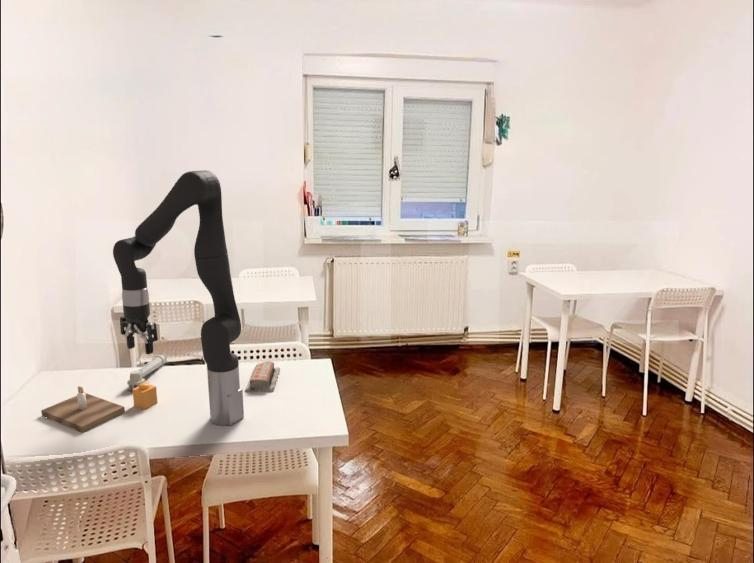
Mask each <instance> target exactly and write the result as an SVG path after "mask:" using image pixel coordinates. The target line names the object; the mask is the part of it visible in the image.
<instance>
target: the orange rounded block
mask: <svg viewBox="0 0 754 563" xmlns="http://www.w3.org/2000/svg"><path fill="white" fill-rule="evenodd" d="M157 392H158V391H157V386H155V385H153V384H150V383H149V382H148V381H145V382H143V383H140V384H139V385H138V387H136V388H134V389H132V400H133V406H134V407H137V408H139V409H144V410H146V409H148V408H150V407H152V406H154V405H156V404H158V393H157Z"/></svg>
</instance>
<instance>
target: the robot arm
mask: <svg viewBox="0 0 754 563" xmlns="http://www.w3.org/2000/svg"><path fill="white" fill-rule="evenodd" d="M222 197H223V196H222V186H221V183H220V180H219V178H218V177H217V175H216V174H215V173H214V172H212V171H210V170H192V171H186V172H184V173H183V174H182V175H180V177H179V178H178V179H177V180H176V181H175V183H174V185H173V186H172V188H171V189H170V190H169V191H168V193H167V194H166V195H165V197H164V199H163V200H162V201H161V203H160V204H159V205H158V206H157V207H156V208H155V209H154V210H153V211H152V212H151V213H150V214H149V216H147V217H146V218H145V219H144V220H143V221H142V222H141V223H140V224H139V225H138V226H137V227H136V229H135V232H134V236H133V237H132V236H131V237H128V238H123V239H119V240H118V241H116V242H115V243H114V246H113V248H112V255H113V256H112V257H113V259H114V260H113V261H114V262H115V265H116V266H117V270H118V272H119V274H120V279H121V281H120V282H121V290H122V292H121V297H122V298H121V301H122V311H123V316H121V317H119V327H120V334H121V335H123V336H124V337H125V339H126V346H127V349H128V350H132V349H134V348H135V347H136V344H135V336H134V335H135V334H137V335H138V336H139V337H140V338H141V339H143V342H144V349H145V354H146V355H150V354H153V353H154V342H157V341H158V338H159V337H158V330H157V323H156V322H155V321H154V322H149V319H148V318H149V317H150V315H151V307H150V306H151V305H150V294H149V291H148V290H149V289H148V282H147V279H148V278H147V272H146V270H145V269H144V268H140V267H137V265H136V261H140V260H143V259H144V258H146V257H148V256H149V255H150V254H151V253H152V251H153V250H154V249H155V247H156V244H158V243H159V242H160V241H161V240H162V239H163V238H165V236H166V235H168V233H169V232H170V231H171V230H172V229H173V227H174V225H175V223H176V220H177V219H178V217H179V216H180V215H181V214H183V213H184V212H185V211H187V210H189V209H190V208H191V207H193V206H195V205H197V207H198V216H199V226H198V231H197V235H196V239H195V242H194V247H193V248H194V249H193V250H194V251H193V252H194V253H193V254H194V261H195V262H194V263H195V267H196V272H197V275H198V277H199V279H200V281H201V283H202V284H203V286H204V287H205V288H206V289H207V291H208V292H209V294H210V296H211V299H212V305H213V310H214V316H213V317H210V318H208V319H207V320H206V321H205V322H203V324H202V326H201V329H200V339H201V340H200V341H201V348H202V350H201V351H202V357H203V360H204V362H205V363H206V373H207V387H208V402H209V412H210V413H209V414H210V415H209V416H210V422H211V423H212V424H214V425H218V426H232V425H233V424H235V423H237V422H239V421H241V420H242V419H243V418H244V417H245V413H244V394H243V393H244V392H243V389H242V388H240V386H241V385H240V384H241V383H240V368H239V367H240V366H239V365H240V363H239V357H238V355H237V354H235V353H233V352H231V346H230V345H231V343H233V342H234V341H236V340H237V339H238V338H239V337H240V335H241V332H242V322H241V321H242V320H241V318H240V314H239V311H238V306H237V302H236V298H235V294H234V287H233V280H232V275H231V268H230V260H229V259H230V258H229V254H228V248H227V242H226V236H225V235H226V234H225V228H224V221H223V220H224V219H223V202H222V200H223V198H222Z"/></svg>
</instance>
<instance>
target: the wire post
mask: <svg viewBox="0 0 754 563" xmlns="http://www.w3.org/2000/svg"><path fill="white" fill-rule="evenodd" d="M77 392H78V393H77V394H76V396H77V398H78V405H79V410H85V409H87V403H86V396H85V393H86V392H84V387H83V386H80V385H78V386H77Z"/></svg>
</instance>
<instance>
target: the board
mask: <svg viewBox="0 0 754 563" xmlns="http://www.w3.org/2000/svg"><path fill="white" fill-rule="evenodd" d="M85 396H86V403H87V409H85V410H79V405H78V398H77V395H75V396H72V397H70V398H67V399H65V400H63V401H60V402H58V403H55V404H53V405H51V406H49V407H46V408H44V409H41V417H43V416H44V417H43V418H45V417H47V418H46V419H48V420H50V421H53V422H55V423H57V422H58V424H60V425H63V426H65V427H67V428H70V429H72V430H75V431H77V432H79V433H85V432H89V430H92V429H94V428H95V427H98V426H100V425H102V424H104V423H106V422H108V421H110V420H112V419H115V418H118V417H119V416H121V415H123V414H125V413H126V412H125V411H126V410H125V406H123V405H121V404H118V403H114V402H112V401H109V400H106V399H103V398H101V397H98V396H95V395H92V394H89V393H86V392H85Z"/></svg>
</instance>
